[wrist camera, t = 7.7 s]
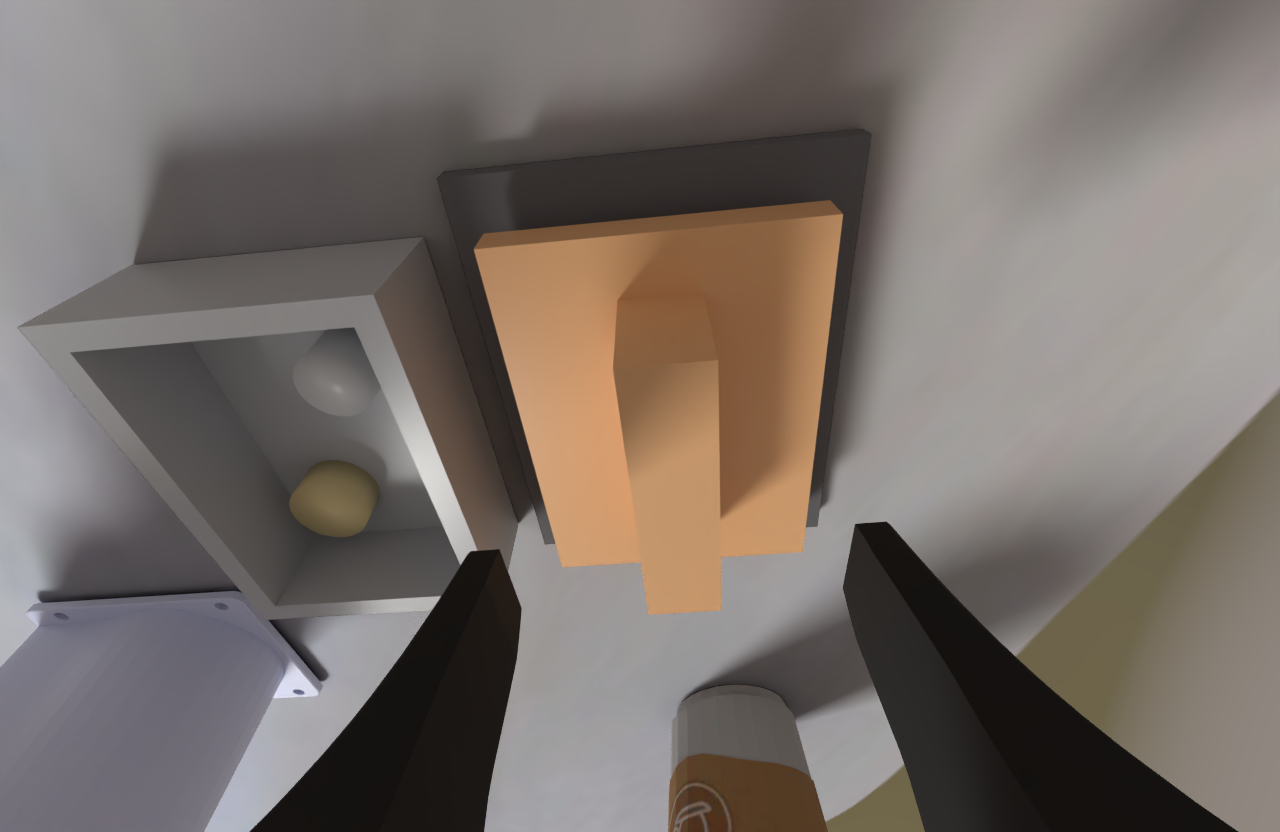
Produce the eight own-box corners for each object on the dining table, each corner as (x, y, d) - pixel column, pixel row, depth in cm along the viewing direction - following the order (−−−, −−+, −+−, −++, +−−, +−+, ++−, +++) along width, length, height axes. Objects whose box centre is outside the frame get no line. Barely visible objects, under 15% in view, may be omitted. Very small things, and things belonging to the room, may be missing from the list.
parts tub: (313, 538, 22) (264, 620, 19) (131, 264, 15) (17, 327, 12) (518, 525, 21) (500, 605, 18) (423, 236, 15) (373, 294, 12)
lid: (567, 526, 20) (551, 650, 17) (490, 222, 14) (434, 311, 10) (791, 511, 20) (827, 635, 16) (820, 190, 13) (894, 269, 10)
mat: (547, 531, 22) (545, 544, 21) (443, 172, 14) (436, 178, 13) (813, 514, 21) (817, 526, 20) (862, 129, 13) (871, 134, 13)
